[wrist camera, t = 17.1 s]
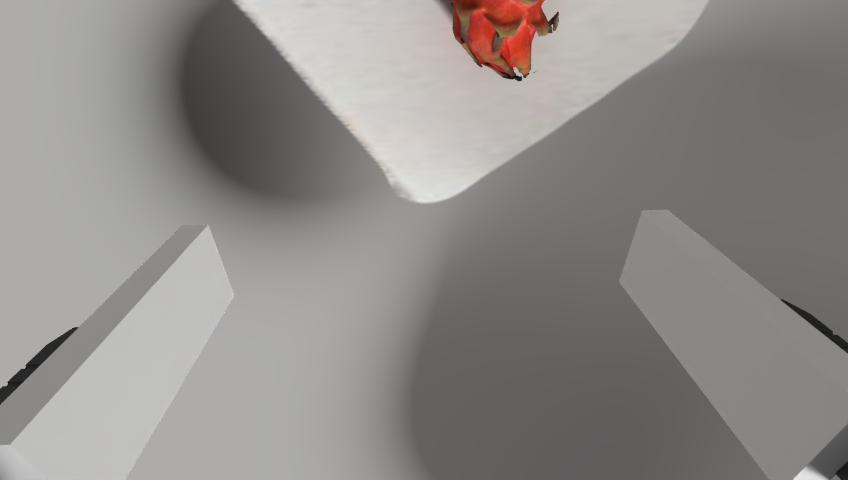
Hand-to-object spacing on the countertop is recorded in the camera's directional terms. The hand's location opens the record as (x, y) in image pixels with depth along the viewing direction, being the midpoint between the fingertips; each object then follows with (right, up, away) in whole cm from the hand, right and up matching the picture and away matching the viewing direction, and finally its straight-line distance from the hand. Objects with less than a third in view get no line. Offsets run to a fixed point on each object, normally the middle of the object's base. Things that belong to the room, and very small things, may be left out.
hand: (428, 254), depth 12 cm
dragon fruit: (+6, +21, +22) cm, 31 cm away
